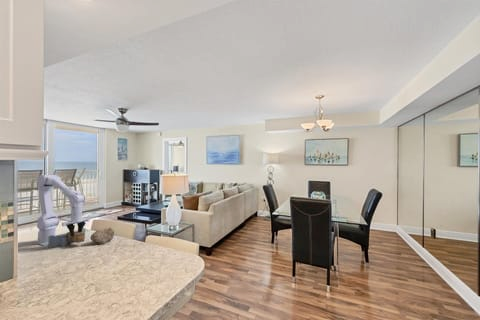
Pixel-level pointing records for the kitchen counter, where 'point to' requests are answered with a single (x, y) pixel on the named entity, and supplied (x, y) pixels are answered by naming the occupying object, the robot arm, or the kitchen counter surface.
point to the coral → (102, 235)
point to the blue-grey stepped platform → (60, 239)
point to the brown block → (75, 237)
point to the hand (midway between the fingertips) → (75, 234)
